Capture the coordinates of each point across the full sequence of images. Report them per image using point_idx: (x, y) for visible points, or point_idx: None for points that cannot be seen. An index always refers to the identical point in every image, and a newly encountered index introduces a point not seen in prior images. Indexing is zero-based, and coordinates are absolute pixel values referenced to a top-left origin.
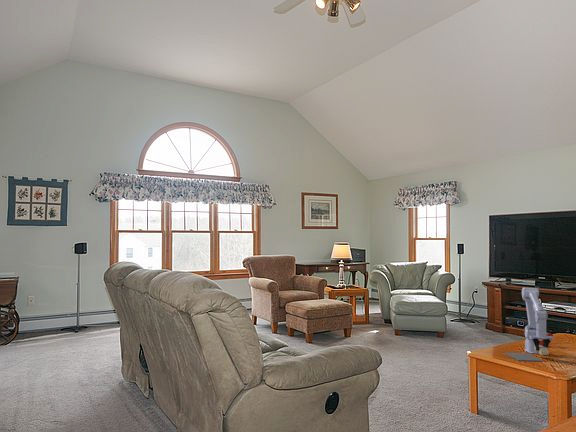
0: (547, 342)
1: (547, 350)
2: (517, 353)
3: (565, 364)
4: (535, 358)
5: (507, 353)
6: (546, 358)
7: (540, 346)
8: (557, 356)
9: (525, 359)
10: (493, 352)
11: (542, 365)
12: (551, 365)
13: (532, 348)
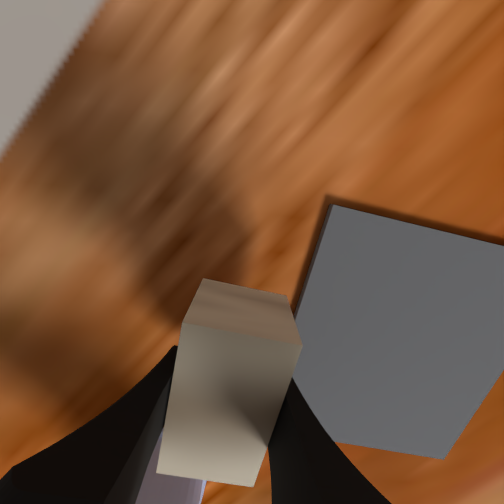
0: (114, 462)
1: (204, 306)
2: (353, 435)
3: (161, 46)
4: (340, 286)
5: (438, 442)
6: None
7: (213, 436)
8: (31, 343)
9: (479, 267)
10: (483, 481)
11: (492, 49)
12: (381, 29)
13: (184, 487)
